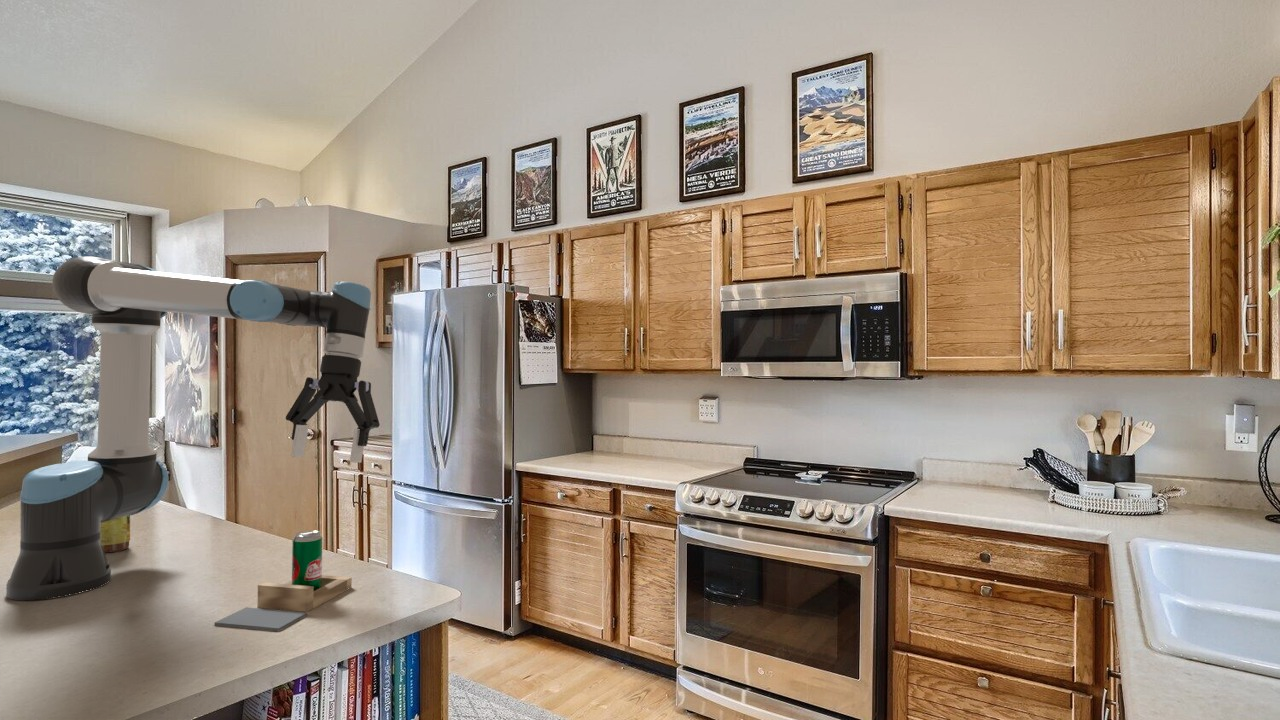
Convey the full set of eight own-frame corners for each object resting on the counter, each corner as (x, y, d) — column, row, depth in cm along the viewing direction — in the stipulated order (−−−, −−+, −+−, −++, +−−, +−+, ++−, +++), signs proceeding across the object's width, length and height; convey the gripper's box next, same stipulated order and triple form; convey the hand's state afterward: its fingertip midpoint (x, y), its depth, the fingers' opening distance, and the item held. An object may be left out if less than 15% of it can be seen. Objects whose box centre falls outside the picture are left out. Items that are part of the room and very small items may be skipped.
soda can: (309, 603, 121) (310, 537, 121) (285, 600, 122) (286, 535, 122) (327, 593, 126) (328, 530, 126) (304, 591, 127) (305, 529, 127)
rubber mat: (214, 625, 110) (214, 622, 110) (246, 610, 117) (246, 607, 117) (278, 631, 108) (278, 628, 108) (307, 615, 115) (307, 612, 115)
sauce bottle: (134, 549, 153) (136, 463, 153) (101, 555, 148) (103, 467, 148) (122, 544, 156) (124, 461, 157) (90, 550, 151) (92, 464, 151)
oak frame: (257, 607, 118) (257, 585, 118) (305, 583, 131) (306, 563, 131) (307, 611, 117) (308, 589, 117) (351, 587, 129) (351, 567, 129)
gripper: (277, 350, 136) (259, 454, 132) (385, 356, 130) (369, 464, 127) (303, 357, 143) (287, 455, 140) (406, 362, 137) (391, 465, 134)
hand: (326, 459), depth 133 cm, fingers open, 13 cm apart
